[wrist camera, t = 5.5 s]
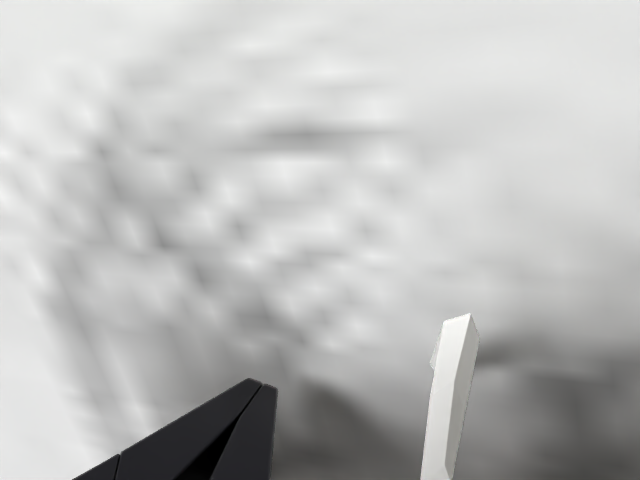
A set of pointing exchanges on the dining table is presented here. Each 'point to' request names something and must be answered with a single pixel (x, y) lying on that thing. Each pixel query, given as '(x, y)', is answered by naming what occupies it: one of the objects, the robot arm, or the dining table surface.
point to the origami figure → (449, 395)
